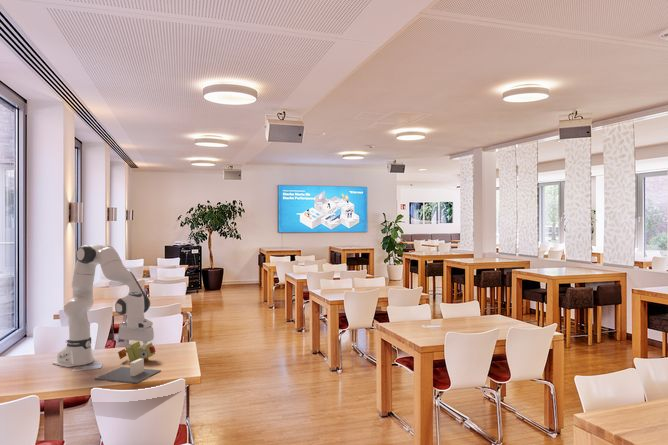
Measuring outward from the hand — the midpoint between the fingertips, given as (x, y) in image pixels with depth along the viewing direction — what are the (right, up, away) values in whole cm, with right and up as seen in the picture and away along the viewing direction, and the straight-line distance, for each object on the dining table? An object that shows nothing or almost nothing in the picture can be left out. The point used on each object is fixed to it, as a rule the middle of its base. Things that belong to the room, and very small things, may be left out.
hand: (135, 348), depth 262 cm
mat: (-4, -14, 0) cm, 15 cm away
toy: (-9, -14, +25) cm, 30 cm away
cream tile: (0, -14, +1) cm, 14 cm away
